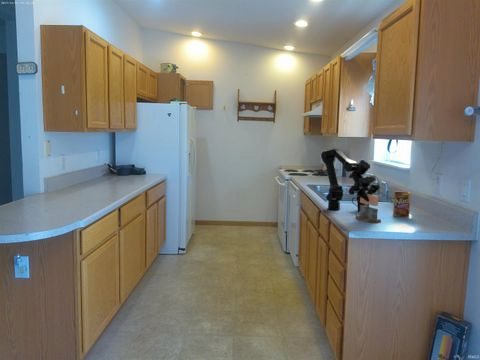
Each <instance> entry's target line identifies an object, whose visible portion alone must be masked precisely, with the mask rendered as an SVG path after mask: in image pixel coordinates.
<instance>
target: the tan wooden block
mask: <svg viewBox="0 0 480 360" xmlns="http://www.w3.org/2000/svg"><path fill="white" fill-rule="evenodd" d="M366 194H367V193H366ZM367 196H368V198H369V202H367V201H366V200H364V199H363V198H361V197H360V202H361V203H365V204H368V205H369V206H372V207H373V206H374V207H378V206H379V195H376V194H373V195H371V194H367Z"/></svg>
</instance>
